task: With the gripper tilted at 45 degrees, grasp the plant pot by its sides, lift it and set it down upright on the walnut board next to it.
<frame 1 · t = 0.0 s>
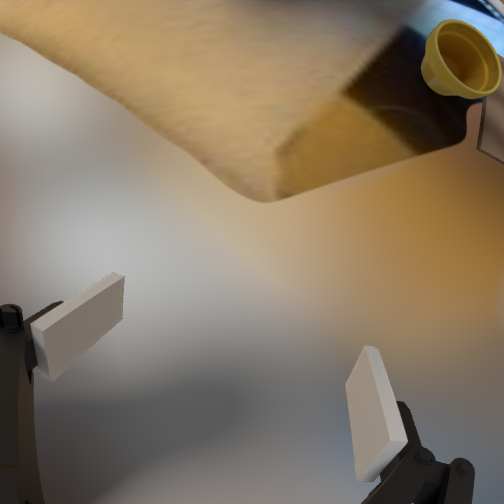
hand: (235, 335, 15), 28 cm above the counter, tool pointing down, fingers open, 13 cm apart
plant pot: (440, 74, 32), on the counter
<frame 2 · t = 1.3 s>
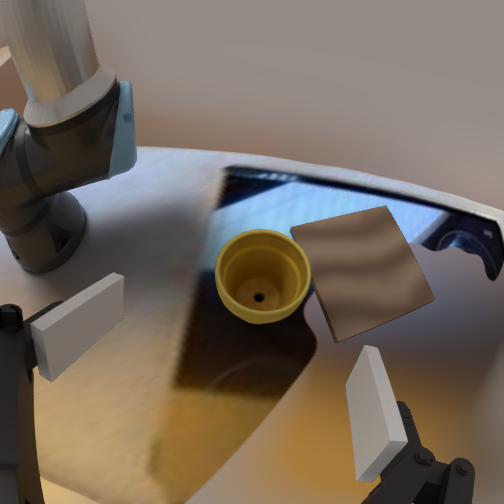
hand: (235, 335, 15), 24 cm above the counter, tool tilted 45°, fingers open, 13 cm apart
plant pot: (257, 300, 42), on the counter
walnut board: (364, 267, 45), on the counter
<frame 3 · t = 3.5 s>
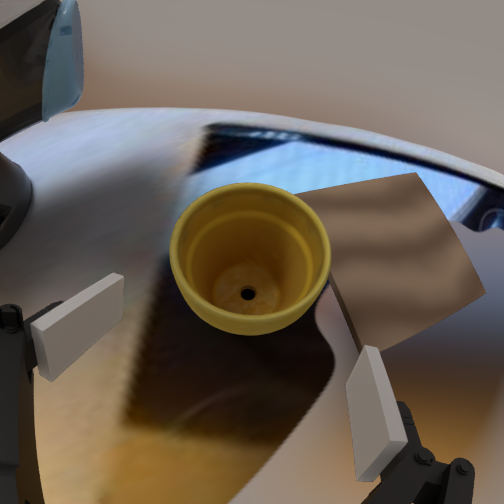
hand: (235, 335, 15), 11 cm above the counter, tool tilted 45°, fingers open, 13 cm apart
plant pot: (246, 297, 28), on the counter
walnut board: (396, 251, 31), on the counter
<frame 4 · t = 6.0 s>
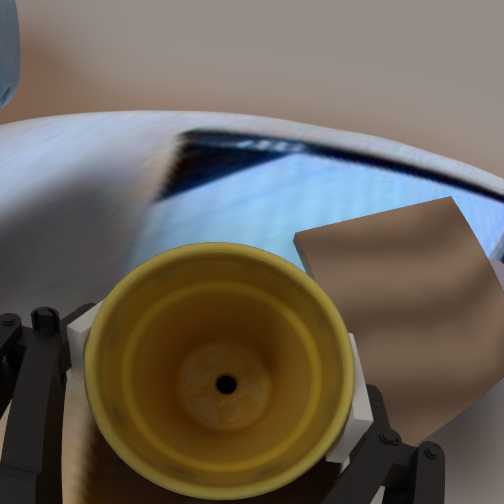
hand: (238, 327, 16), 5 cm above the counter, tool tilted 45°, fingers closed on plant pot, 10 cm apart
plant pot: (225, 385, 19), on the counter, touching gripper
walnut board: (429, 308, 22), on the counter
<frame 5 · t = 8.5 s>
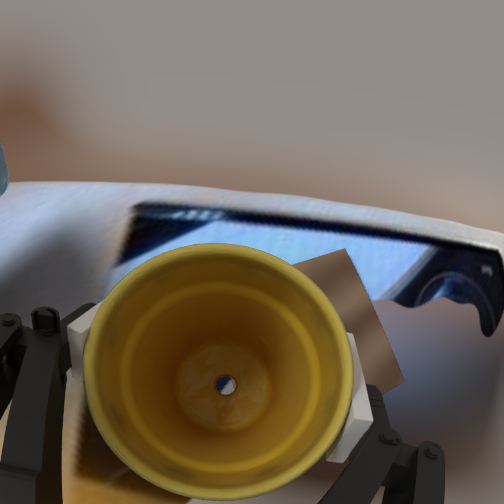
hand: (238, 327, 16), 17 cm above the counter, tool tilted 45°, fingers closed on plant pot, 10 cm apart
plant pot: (224, 386, 19), point 13 cm above the counter, touching gripper
walnut board: (305, 343, 33), on the counter
when the fingers open (7 cm above the counter, at t = 11.5 s): plant pot drops 1 cm, resting on walnut board.
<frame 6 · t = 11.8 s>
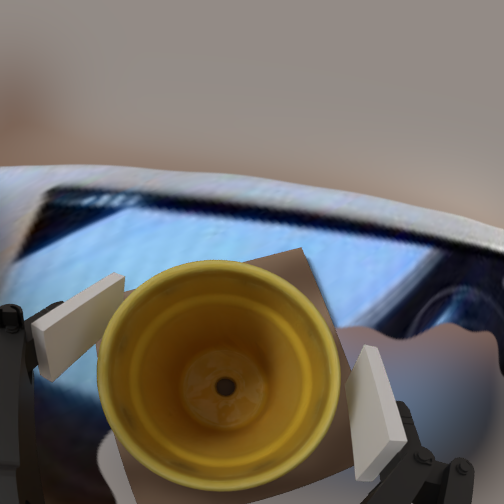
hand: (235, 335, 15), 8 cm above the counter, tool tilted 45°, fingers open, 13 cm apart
plant pot: (224, 387, 20), point 1 cm above the counter, touching walnut board
walnut board: (226, 388, 21), on the counter
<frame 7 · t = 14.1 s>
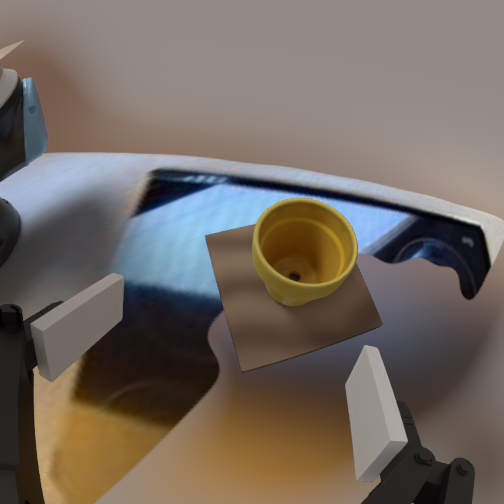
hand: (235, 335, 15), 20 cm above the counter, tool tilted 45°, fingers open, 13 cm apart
plant pot: (291, 280, 38), point 1 cm above the counter, touching walnut board
walnut board: (291, 283, 39), on the counter
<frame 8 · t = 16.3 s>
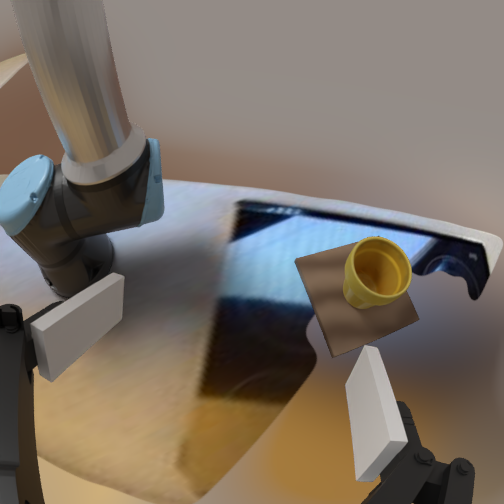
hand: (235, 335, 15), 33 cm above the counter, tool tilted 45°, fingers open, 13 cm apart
plant pot: (359, 291, 51), point 1 cm above the counter, touching walnut board
walnut board: (358, 292, 52), on the counter
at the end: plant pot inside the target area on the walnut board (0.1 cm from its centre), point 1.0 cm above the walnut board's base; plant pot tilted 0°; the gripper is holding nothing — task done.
